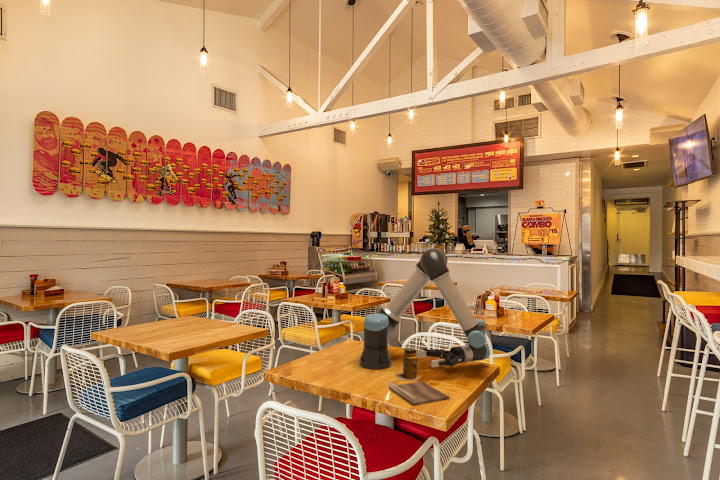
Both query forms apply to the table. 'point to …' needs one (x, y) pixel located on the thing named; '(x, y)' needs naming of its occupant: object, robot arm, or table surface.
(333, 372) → the table surface
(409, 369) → the condiment
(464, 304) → the robot arm
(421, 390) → the dock board
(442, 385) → the table surface
